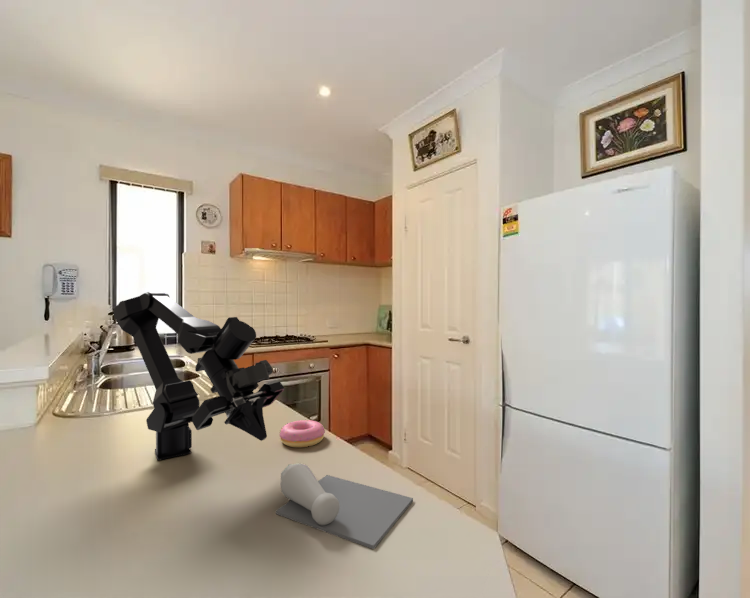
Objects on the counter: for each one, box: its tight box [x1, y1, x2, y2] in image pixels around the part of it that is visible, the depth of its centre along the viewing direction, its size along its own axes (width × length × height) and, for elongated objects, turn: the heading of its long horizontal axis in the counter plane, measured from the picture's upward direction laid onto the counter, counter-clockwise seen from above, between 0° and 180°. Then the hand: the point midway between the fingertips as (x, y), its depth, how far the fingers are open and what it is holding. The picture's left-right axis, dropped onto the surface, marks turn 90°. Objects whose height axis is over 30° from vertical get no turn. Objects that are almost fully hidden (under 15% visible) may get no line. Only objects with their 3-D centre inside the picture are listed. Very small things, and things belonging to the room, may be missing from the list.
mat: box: [275, 474, 414, 550], centre depth 63 cm, size 18×14×1 cm
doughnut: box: [279, 419, 326, 448], centre depth 92 cm, size 11×11×4 cm
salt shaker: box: [280, 462, 340, 525], centre depth 61 cm, size 6×6×13 cm
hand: (264, 438), depth 71 cm, fingers closed
